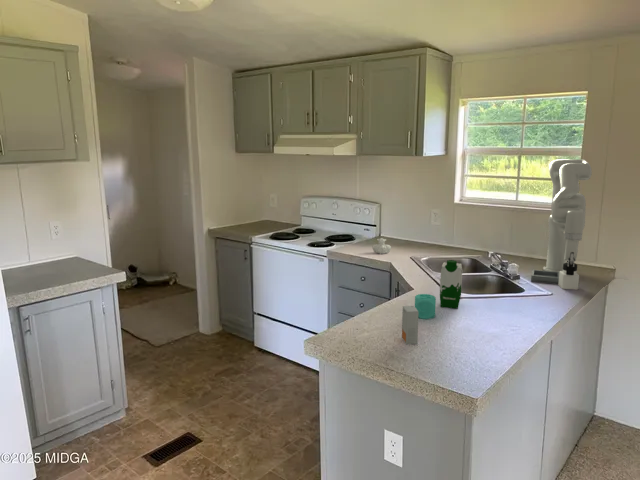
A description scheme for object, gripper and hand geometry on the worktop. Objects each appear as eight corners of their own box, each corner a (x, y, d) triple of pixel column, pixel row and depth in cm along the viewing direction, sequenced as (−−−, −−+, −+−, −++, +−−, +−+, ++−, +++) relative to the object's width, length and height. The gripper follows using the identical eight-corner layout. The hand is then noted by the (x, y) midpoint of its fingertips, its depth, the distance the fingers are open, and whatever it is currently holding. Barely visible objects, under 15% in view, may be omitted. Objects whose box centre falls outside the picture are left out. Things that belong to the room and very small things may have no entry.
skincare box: (401, 337, 172) (402, 305, 170) (413, 337, 172) (414, 305, 170) (405, 344, 166) (406, 311, 164) (417, 344, 167) (419, 311, 164)
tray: (531, 275, 256) (532, 269, 255) (559, 277, 250) (559, 272, 250) (531, 281, 244) (531, 275, 243) (559, 284, 239) (560, 278, 238)
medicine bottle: (578, 289, 229) (580, 265, 227) (562, 289, 231) (564, 264, 228) (573, 285, 236) (576, 261, 234) (558, 285, 237) (560, 261, 235)
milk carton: (438, 307, 204) (440, 261, 200) (440, 301, 213) (442, 257, 209) (459, 310, 201) (462, 263, 198) (461, 303, 210) (463, 258, 206)
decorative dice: (434, 313, 198) (435, 294, 196) (435, 319, 190) (435, 300, 189) (414, 311, 199) (415, 293, 198) (414, 318, 192) (415, 299, 190)
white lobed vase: (371, 256, 310) (371, 244, 301) (372, 247, 315) (372, 235, 306) (390, 257, 308) (390, 245, 299) (391, 248, 313) (391, 236, 304)
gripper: (563, 232, 238) (560, 268, 241) (564, 239, 222) (561, 276, 226) (580, 234, 235) (577, 269, 238) (583, 240, 219) (579, 278, 223)
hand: (569, 272), depth 232 cm, fingers closed on medicine bottle, 7 cm apart
